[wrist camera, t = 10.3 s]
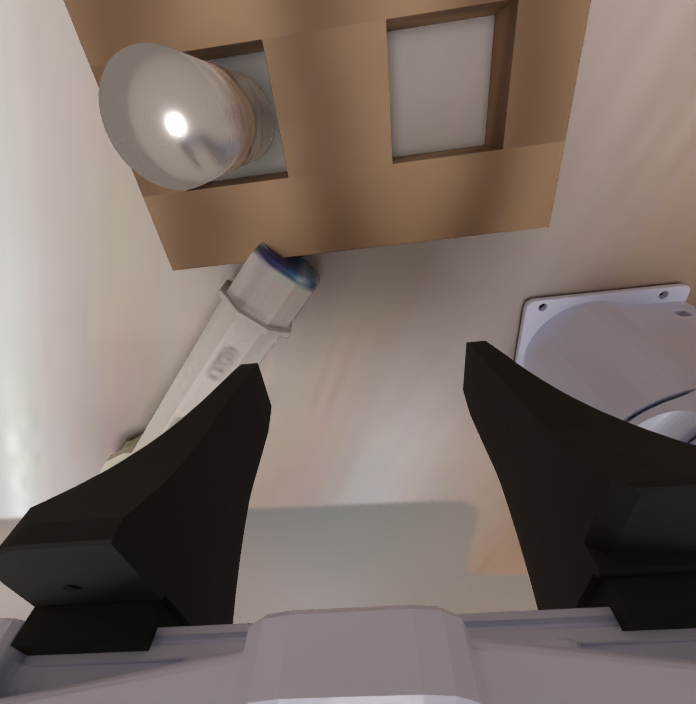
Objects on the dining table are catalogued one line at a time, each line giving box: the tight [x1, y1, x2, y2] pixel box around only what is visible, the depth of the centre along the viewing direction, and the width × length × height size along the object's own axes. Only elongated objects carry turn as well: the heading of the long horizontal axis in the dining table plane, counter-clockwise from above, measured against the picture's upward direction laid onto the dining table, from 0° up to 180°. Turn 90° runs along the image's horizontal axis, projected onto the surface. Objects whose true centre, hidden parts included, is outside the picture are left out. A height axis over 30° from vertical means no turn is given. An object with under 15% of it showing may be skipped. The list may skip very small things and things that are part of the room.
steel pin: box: [99, 43, 274, 190], centre depth 14 cm, size 4×4×8 cm
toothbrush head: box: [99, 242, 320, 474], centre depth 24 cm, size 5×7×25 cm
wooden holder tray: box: [64, 0, 591, 270], centre depth 16 cm, size 19×12×2 cm, turn 97°
